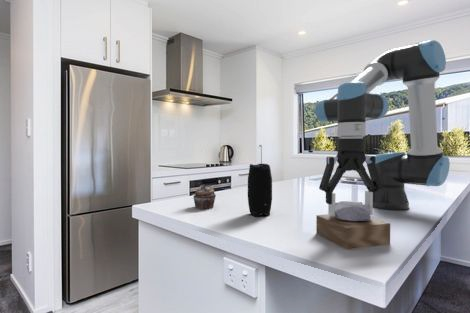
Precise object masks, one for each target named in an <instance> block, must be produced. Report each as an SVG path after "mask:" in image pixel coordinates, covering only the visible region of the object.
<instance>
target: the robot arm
mask: <svg viewBox="0 0 470 313" xmlns="http://www.w3.org/2000/svg"><path fill="white" fill-rule="evenodd" d="M446 60H447V59H446V55H445V51H444V49H443V46H442V45H441V43H440V42H439V41H437V40H436V39H435V40H434V39H431V40H426V41H425V40H424V41H419V42H417V43H413V44H410V45H405V46H402V47H398V48H393V49H391V50H388V51H386V52H384V53H381V55H378V56H377V57H376V58H374V59H373V60H371V61H370V62H369V63H368V64H366V66H365V67H364V68H363V71H362V72H361V73H360V74H359V75H357V76H356V77H355V78H353V80H351V81H350V82H349V81H348V82H344V83H341V84H340V85H339V86H338V87H337V93H336V94H335V95H333V96H332V97H330V98H329V99H324V100H320V101H318V102H317V103H316V105H315V107H314V115H315V118H316V119H317V120H318V121H319V122H322V123H326V122H327V123H332V122H337V125H336V126H337V131H336V136H337V137H338V139H337V141H336V144H337V145H336V151H337V154H336V156H326V165H325V168H324V171H323V175H322V178H321V181H320V184H319V187H318V189H319V190H320V191H322V192H325V203H326V204H327V205H328V206H327V207H328V210H327V211H328V212H327V213H328V214H329V215H331V216H335V203H336V193H335V192H334V190H335V188H336V187H337V186H338V183H339V182H340V181H341V178H342V177H343V176H344V174H346V172H350V171H354V172H357V174H358V176H359V177H360V179H361V180H362V182H363V184H364V186H365V187H366V189H367V190H364V205H368V206H369V207H370V211H371V212H370V213H371V214H370V216H373V212H374V210H373V208H377V209H384V210H391V211H392V210H395V211H397V210H398V211H399V210H401V211H402V210H408V209H409V208H410V202H409V199H408V197H407V193H406V191H405V185H416V186H417V185H418V186H424V187H425V186H426V187H440V186H442V185H443V184H444V183H445V182H446V180H447V178H448V175H449V171H450V164H451V163H450V159H449V157H448V156H446V155H444V153H443V150H442V149H441V148H440V147H438V131H437V130H438V129H437V107H436V103H437V102H436V86H435V84H436V82H437V81H438V80H439V78H440V73H442V72H444V71H445V69H446V65H447V61H446ZM400 79H401V80H402V84H403V85H405V86H406V87H407V98H408V115H409V116H408V117H409V119H408V120H409V133H410V136H409V137H410V149H409V150H408V151H406V152H405V151H399V152H398V151H397V152H395V151H394V152H387V153H378V154H376V155H375V156H373V155H366V154H365V151H366V139H365V138H364V137H365V136H366V120H379V119H381V118H384V117H385V116H386V115H387V113H388V112H389V107H390V104H389V101H388V100H387V98H386V97H385V96H383V95H380V94H378V93H371V92H372V91H374V89H375V88H376V87H378V86H381V85H383V84H385V82H389V81H394V80H400ZM336 163H337V164H338V165H337V167H336V169H335V168H334V167H335V165H336ZM364 163H366V167H367V170H368V172H367V170H366V168H365V165H364ZM334 169H335V172H334V174H333V171H334ZM332 174H333V175H332Z"/></svg>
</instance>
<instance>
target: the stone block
mask: <svg viewBox="0 0 470 313" xmlns="http://www.w3.org/2000/svg"><path fill="white" fill-rule="evenodd" d="M370 212H371V211H370V207H369V206H368V205H365V203H363V202H362V201H357V202H356V201H350V200H349V201H348V200H347V201H346V200H345V201H339V202H338V201H337V202H335V216H334V218H337V219H339V220H347V221H369V220H370V217H371V215H370V214H371V213H370Z"/></svg>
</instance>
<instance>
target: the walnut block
mask: <svg viewBox="0 0 470 313" xmlns="http://www.w3.org/2000/svg"><path fill="white" fill-rule="evenodd" d="M315 220H316V228H315V229H316V235H318V236H320V237H321V238H324V239H325V240H328V241H329V242H331V243H333V244H335V245H337V246H338V247H341V248H343V249H344V250H347V251H348V250H353V249H355V250H356V249H362V248H369V247H377V246H384V245H390V244H391V223H390V222H388V221H384V220H381V219H378V218H375V217H372V216H370V220H369V221H347V220H339V219H337V218H334V216H331V215H329V214H327V213H325V214H317V215H316V219H315Z"/></svg>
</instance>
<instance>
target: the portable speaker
mask: <svg viewBox="0 0 470 313" xmlns="http://www.w3.org/2000/svg"><path fill="white" fill-rule="evenodd" d="M272 176H273V175H272V171H271V166H270V164H268V163H257V164H253V163H251V164H249V169H248V175H247V202H248V209H249V210H248V211H249V213H250V215H251V216H252V217H258V218H259V217H261V216H262V215H266V216H267V217H268V216H270V215H271V209H272V204H273V203H272V202H273V177H272Z"/></svg>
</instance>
